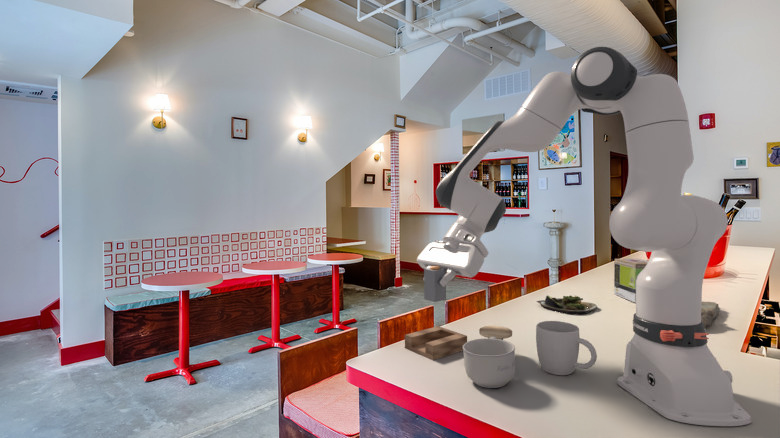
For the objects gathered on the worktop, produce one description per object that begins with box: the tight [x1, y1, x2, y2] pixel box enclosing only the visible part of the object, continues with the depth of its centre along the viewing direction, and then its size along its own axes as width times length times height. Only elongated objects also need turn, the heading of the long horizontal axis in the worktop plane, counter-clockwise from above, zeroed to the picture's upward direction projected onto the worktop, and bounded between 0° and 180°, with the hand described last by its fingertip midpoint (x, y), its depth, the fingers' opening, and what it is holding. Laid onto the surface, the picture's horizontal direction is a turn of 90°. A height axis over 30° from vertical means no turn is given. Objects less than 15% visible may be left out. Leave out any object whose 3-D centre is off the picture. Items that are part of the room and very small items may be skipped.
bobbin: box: [478, 325, 513, 340], centre depth 105 cm, size 8×8×6 cm
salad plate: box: [536, 294, 598, 315], centre depth 149 cm, size 19×18×5 cm
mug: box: [535, 320, 598, 376], centre depth 93 cm, size 13×9×10 cm
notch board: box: [404, 325, 468, 361], centre depth 109 cm, size 12×11×4 cm
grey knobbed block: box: [423, 266, 447, 303], centre depth 109 cm, size 4×4×9 cm
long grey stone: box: [701, 301, 721, 329], centre depth 132 cm, size 35×5×10 cm
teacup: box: [462, 336, 516, 389], centre depth 90 cm, size 14×11×8 cm
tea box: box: [613, 258, 649, 304], centre depth 159 cm, size 15×10×15 cm
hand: (433, 283), depth 109 cm, fingers closed on grey knobbed block, 4 cm apart
